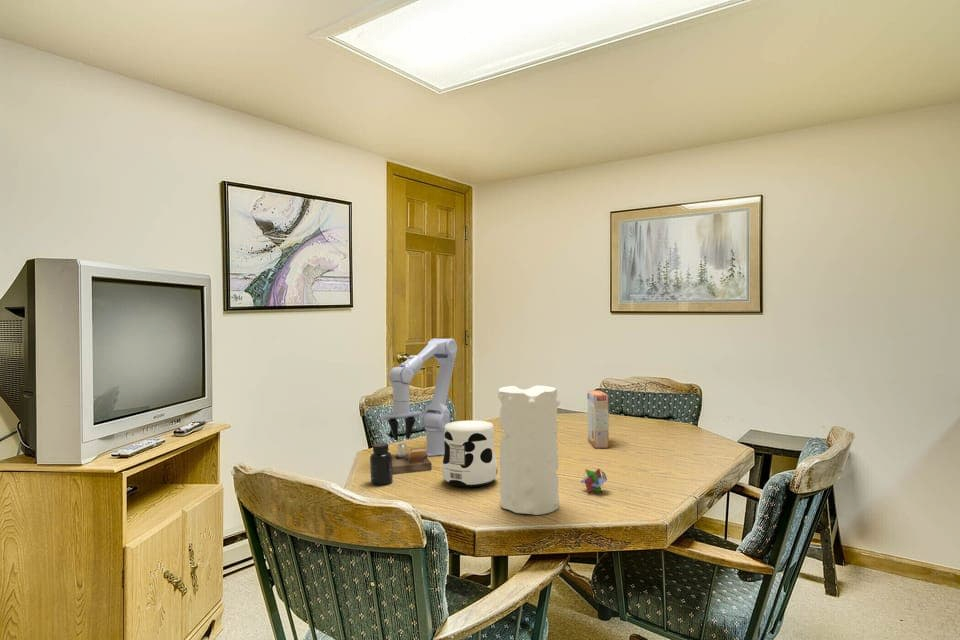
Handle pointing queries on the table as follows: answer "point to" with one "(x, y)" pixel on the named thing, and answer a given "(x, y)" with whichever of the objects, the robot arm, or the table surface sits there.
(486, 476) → the milk container
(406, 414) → the robot arm
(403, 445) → the steel pin
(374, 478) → the supplement bottle
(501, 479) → the vase
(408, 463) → the brown board with hole
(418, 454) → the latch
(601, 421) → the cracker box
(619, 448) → the table surface
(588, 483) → the geometric puzzle
